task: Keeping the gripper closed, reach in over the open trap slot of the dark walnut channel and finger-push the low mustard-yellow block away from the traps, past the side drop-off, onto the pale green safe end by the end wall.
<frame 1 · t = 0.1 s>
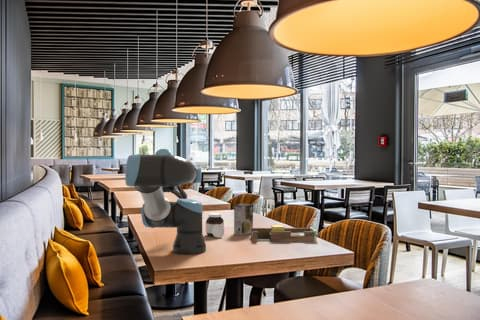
hand: (168, 208, 215), 15 cm above the table, tool tilted 35°, fingers open, 13 cm apart
block: (277, 233, 212), point 3 cm above the table, touching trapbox
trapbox: (283, 239, 212), on the table
spread jar: (216, 236, 220), on the table
coffee box: (243, 233, 226), on the table
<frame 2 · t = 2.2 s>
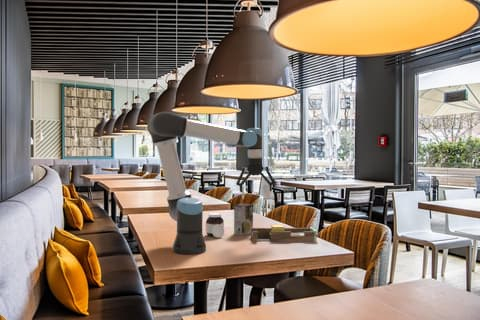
hand: (255, 198, 214), 21 cm above the table, tool pointing down, fingers open, 13 cm apart
nothing on the table moved.
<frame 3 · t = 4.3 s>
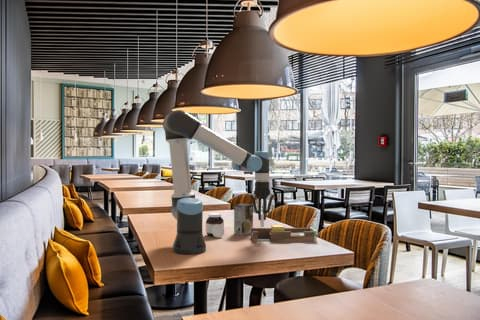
hand: (262, 226, 212), 7 cm above the table, tool pointing down, fingers closed
nothing on the table moved.
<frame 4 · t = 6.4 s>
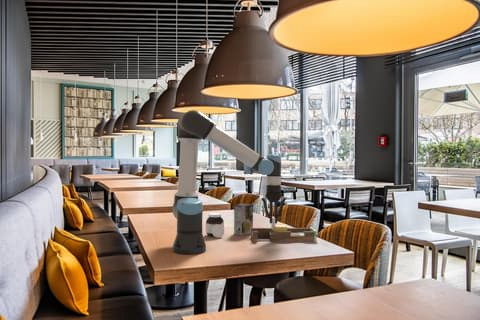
hand: (273, 229, 212), 5 cm above the table, tool pointing down, fingers closed
block: (280, 233, 212), point 3 cm above the table, touching gripper
everything else where it was.
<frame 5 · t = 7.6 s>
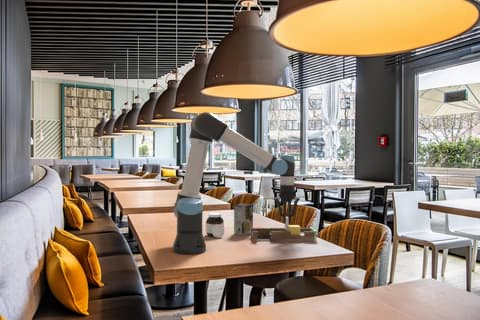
hand: (286, 229, 212), 5 cm above the table, tool pointing down, fingers closed
block: (293, 233, 213), point 3 cm above the table, touching gripper
everything else where it was.
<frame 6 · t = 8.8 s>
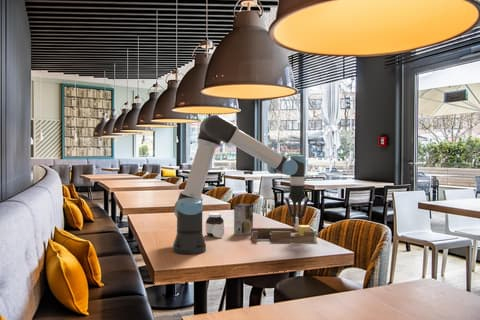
hand: (296, 229, 213), 5 cm above the table, tool pointing down, fingers closed
block: (303, 233, 213), point 3 cm above the table, touching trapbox
everything else where it was.
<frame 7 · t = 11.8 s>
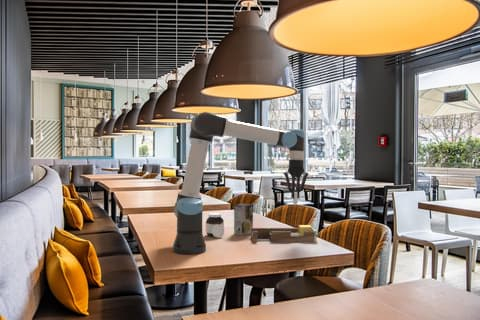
hand: (295, 204, 212), 18 cm above the table, tool pointing down, fingers closed
nothing on the table moved.
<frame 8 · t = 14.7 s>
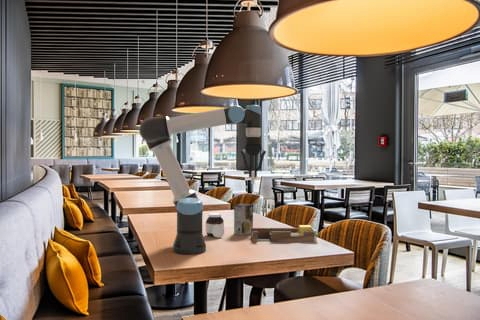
hand: (252, 184, 203), 29 cm above the table, tool pointing down, fingers closed
nothing on the table moved.
at the end: block inside the target area on the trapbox (0.2 cm from its centre), point 3.0 cm above the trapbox's base; block tilted 0° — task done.
